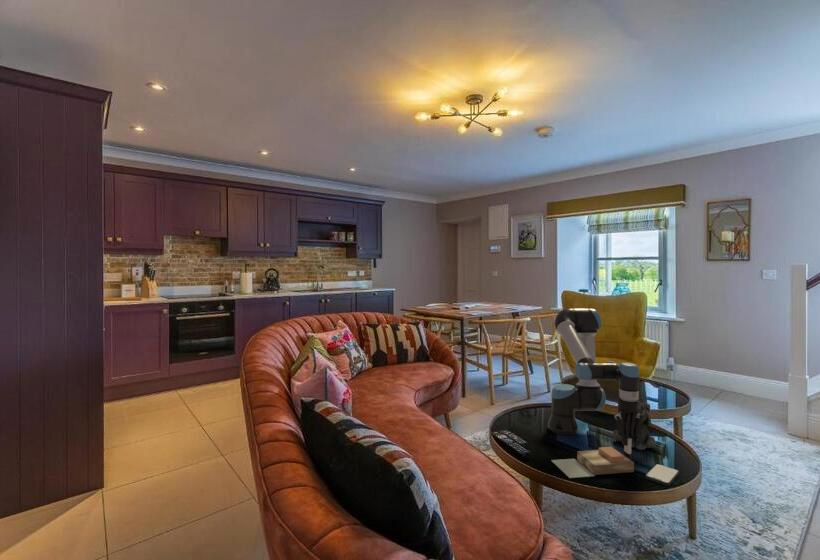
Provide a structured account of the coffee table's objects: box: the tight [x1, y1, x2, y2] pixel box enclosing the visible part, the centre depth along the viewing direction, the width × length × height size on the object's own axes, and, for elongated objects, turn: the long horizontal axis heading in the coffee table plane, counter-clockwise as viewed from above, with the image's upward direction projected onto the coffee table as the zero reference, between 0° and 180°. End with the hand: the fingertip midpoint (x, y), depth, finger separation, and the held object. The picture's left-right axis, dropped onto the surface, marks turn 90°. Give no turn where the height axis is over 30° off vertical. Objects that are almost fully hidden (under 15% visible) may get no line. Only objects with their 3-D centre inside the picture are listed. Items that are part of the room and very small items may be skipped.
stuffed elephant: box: [611, 397, 656, 451], centre depth 195 cm, size 19×21×27 cm
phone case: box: [645, 463, 680, 487], centre depth 165 cm, size 9×2×16 cm
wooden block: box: [576, 449, 635, 476], centre depth 173 cm, size 13×18×4 cm
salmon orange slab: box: [597, 446, 625, 462], centre depth 174 cm, size 9×6×2 cm, turn 8°
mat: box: [551, 458, 595, 479], centre depth 171 cm, size 15×11×1 cm
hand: (627, 452), depth 175 cm, fingers closed
